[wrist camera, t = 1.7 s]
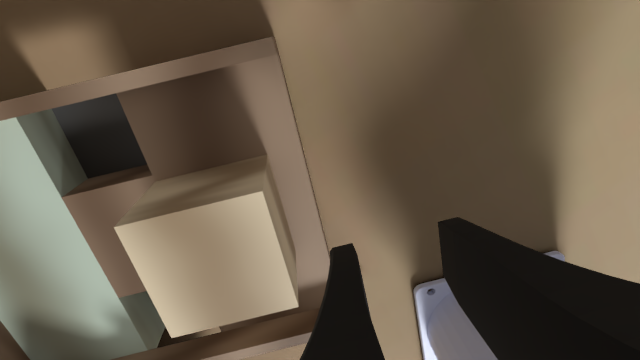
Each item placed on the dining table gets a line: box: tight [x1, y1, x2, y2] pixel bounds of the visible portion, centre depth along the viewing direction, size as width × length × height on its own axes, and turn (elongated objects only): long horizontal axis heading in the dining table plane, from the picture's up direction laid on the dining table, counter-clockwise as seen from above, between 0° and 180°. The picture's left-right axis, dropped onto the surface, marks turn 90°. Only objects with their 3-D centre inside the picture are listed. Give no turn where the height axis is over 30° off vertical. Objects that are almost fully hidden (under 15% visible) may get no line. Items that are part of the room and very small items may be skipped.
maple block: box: [114, 155, 299, 338], centre depth 14 cm, size 5×5×4 cm
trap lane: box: [0, 37, 330, 360], centre depth 16 cm, size 17×14×4 cm
